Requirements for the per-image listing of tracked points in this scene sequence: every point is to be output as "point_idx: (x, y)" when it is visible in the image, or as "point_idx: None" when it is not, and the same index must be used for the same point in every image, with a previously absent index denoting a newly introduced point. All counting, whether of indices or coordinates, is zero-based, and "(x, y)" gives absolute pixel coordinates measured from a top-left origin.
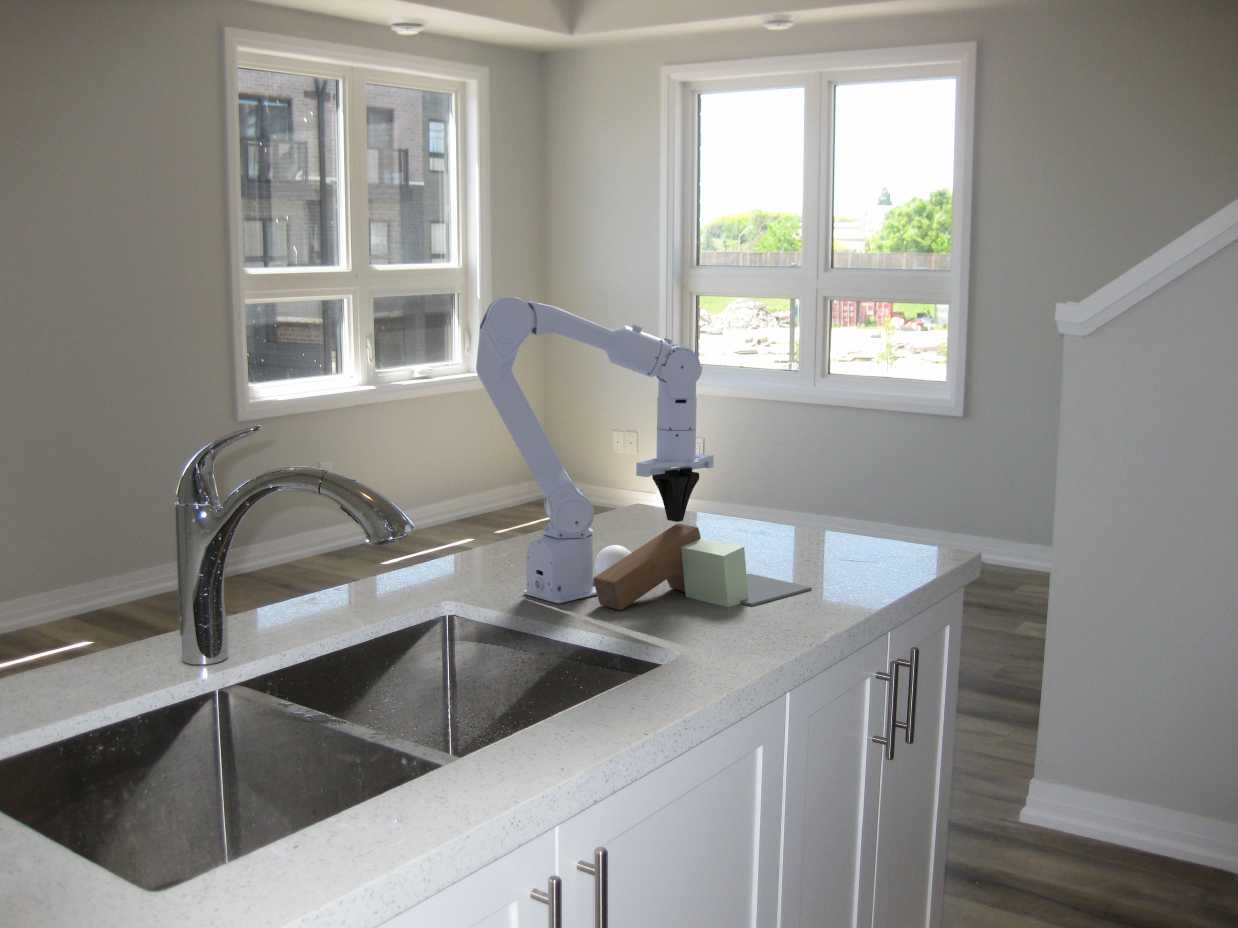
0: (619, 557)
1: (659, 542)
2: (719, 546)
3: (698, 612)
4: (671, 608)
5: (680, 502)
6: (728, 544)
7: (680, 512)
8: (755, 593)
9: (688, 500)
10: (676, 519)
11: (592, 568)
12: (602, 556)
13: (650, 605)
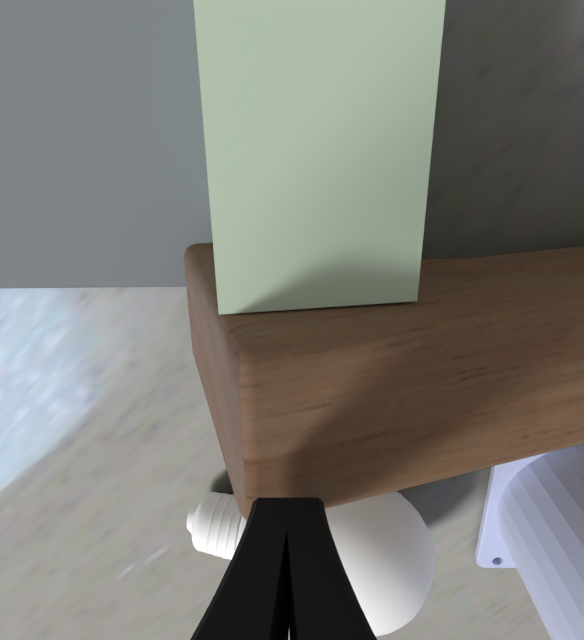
0: (401, 548)
1: (492, 405)
2: (289, 63)
3: (506, 5)
4: (523, 138)
5: (330, 624)
6: (216, 23)
7: (306, 543)
8: (101, 23)
9: (200, 632)
10: (324, 514)
11: (581, 513)
12: (428, 590)
13: (536, 227)
